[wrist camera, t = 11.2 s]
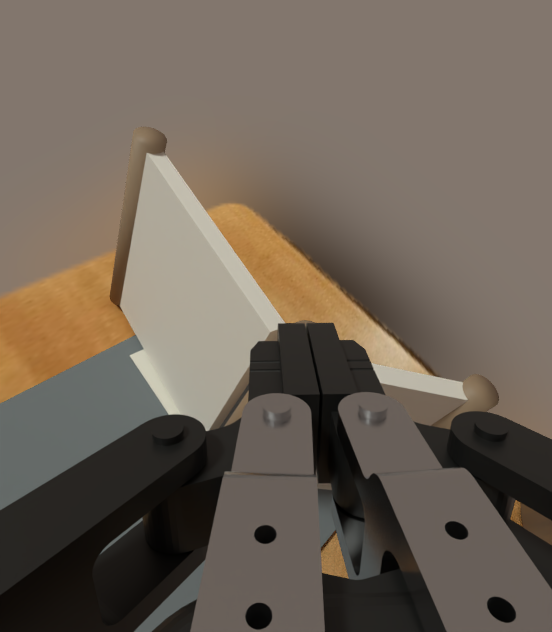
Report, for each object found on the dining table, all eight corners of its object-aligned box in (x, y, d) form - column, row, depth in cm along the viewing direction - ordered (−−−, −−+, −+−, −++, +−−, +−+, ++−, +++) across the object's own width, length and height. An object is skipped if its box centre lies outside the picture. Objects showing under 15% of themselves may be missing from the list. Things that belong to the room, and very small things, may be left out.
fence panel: (215, 437, 32) (296, 318, 21) (193, 449, 30) (266, 329, 20) (128, 285, 36) (157, 126, 26) (105, 291, 35) (127, 127, 25)
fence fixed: (197, 480, 30) (290, 355, 18) (201, 451, 31) (288, 316, 19) (355, 498, 33) (519, 402, 22) (352, 471, 35) (505, 366, 23)
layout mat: (195, 306, 38) (196, 303, 38) (363, 494, 34) (365, 493, 33) (-69, 441, 26) (-71, 438, 26) (138, 769, 21) (139, 770, 21)
